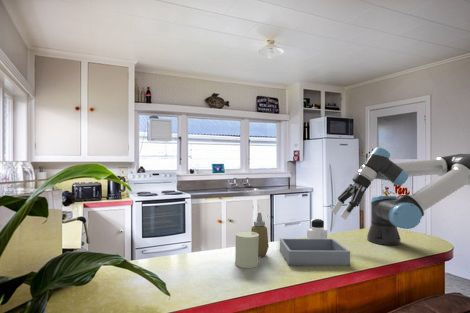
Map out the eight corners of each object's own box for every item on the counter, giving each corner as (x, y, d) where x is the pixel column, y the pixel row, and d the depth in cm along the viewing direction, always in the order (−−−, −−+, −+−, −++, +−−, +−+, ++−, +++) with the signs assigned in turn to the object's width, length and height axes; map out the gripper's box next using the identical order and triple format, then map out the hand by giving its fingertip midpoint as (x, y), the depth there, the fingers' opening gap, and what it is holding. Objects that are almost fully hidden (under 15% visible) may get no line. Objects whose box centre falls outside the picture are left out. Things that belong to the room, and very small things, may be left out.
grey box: (332, 251, 133) (333, 238, 133) (349, 265, 115) (350, 251, 115) (279, 250, 132) (279, 238, 132) (288, 265, 114) (288, 251, 114)
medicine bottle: (327, 244, 143) (327, 219, 143) (320, 247, 138) (320, 221, 138) (313, 241, 148) (314, 217, 148) (306, 244, 143) (306, 219, 143)
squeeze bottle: (269, 258, 122) (270, 214, 122) (249, 258, 122) (250, 214, 122) (267, 252, 130) (268, 211, 130) (249, 252, 130) (249, 210, 130)
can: (262, 266, 113) (262, 235, 113) (239, 269, 110) (240, 236, 110) (252, 258, 121) (253, 229, 121) (231, 261, 118) (232, 231, 118)
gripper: (347, 172, 149) (323, 206, 149) (369, 173, 124) (340, 214, 124) (359, 181, 149) (335, 215, 148) (384, 183, 124) (355, 225, 123)
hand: (337, 215), depth 136 cm, fingers open, 13 cm apart
